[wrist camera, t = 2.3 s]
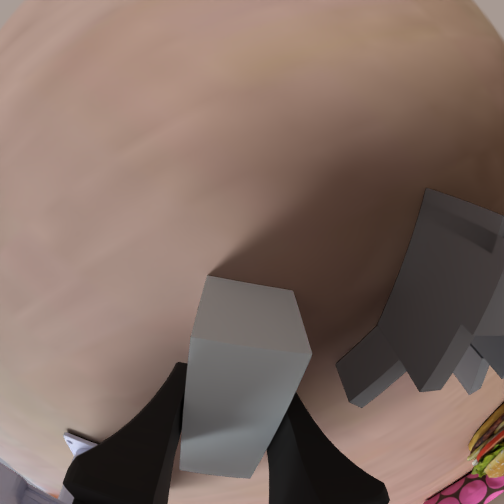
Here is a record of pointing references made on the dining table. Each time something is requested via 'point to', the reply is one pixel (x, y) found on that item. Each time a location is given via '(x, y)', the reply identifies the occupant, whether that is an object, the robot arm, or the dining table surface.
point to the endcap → (438, 306)
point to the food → (489, 446)
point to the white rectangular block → (240, 375)
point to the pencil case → (470, 491)
